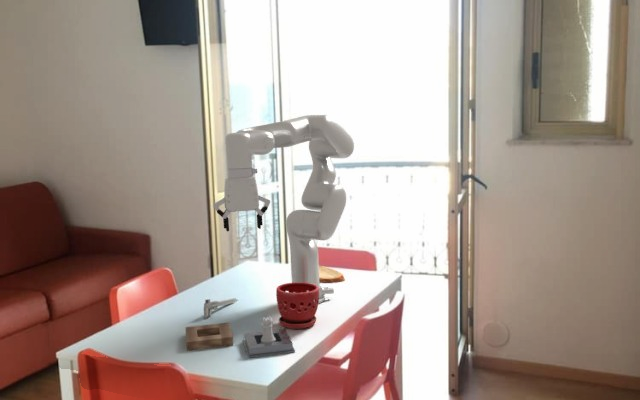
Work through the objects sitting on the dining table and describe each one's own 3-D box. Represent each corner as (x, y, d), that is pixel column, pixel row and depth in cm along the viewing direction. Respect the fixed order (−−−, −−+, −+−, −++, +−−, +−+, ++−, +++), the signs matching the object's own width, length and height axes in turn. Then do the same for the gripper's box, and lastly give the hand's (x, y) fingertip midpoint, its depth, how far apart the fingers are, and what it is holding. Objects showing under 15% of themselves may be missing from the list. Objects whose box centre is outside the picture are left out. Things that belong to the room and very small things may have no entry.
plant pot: (305, 334, 202) (303, 295, 200) (269, 327, 209) (267, 289, 207) (328, 320, 213) (326, 283, 211) (293, 315, 220) (291, 279, 218)
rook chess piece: (260, 342, 195) (259, 315, 194) (276, 341, 195) (274, 314, 194) (260, 348, 191) (259, 320, 189) (276, 347, 191) (275, 319, 190)
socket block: (229, 330, 208) (228, 322, 207) (233, 345, 195) (232, 336, 195) (186, 335, 205) (185, 327, 205) (187, 350, 193) (186, 342, 192)
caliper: (207, 319, 219) (205, 301, 218) (204, 319, 220) (203, 300, 219) (238, 301, 238) (237, 283, 237) (235, 300, 238) (234, 283, 237)
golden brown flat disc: (345, 283, 255) (345, 273, 255) (297, 285, 255) (297, 275, 255) (343, 270, 273) (343, 261, 272) (298, 272, 273) (298, 263, 272)
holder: (286, 336, 201) (286, 328, 200) (294, 352, 188) (294, 343, 188) (242, 341, 198) (242, 333, 198) (248, 358, 185) (247, 349, 185)
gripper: (266, 170, 211) (269, 224, 213) (210, 174, 207) (214, 229, 210) (270, 173, 203) (273, 229, 206) (212, 177, 200) (215, 234, 202)
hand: (243, 229), depth 208 cm, fingers open, 9 cm apart
